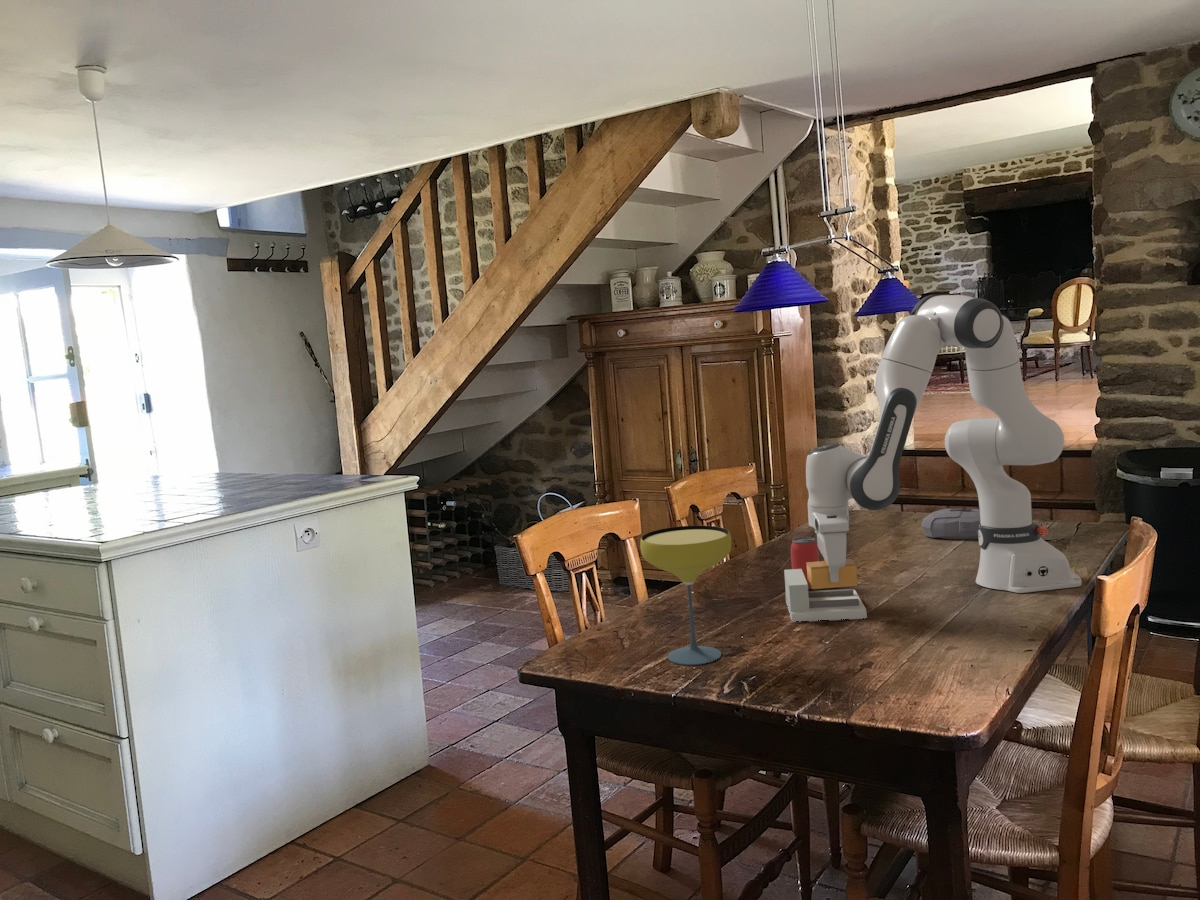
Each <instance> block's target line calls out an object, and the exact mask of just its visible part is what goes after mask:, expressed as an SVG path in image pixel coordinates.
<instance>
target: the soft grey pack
mask: <svg viewBox="0 0 1200 900" xmlns="http://www.w3.org/2000/svg"><path fill="white" fill-rule="evenodd" d="M979 523H980V508H973V506H970V507H966V506H963V507H951V508H950V507H949V508H942V509H939V510H935V511H933V512H931V513H929V514H928V515H925V517H924V518H923V519H922V522H921V527H922V529H923V531H924V536H926V537H929V538H933V539H934V538H935V539H940V538H941V539H942V540H952V539H954V540H957V541H962V540H966V541H967V540H971V541H972V540H979V537H978V530H979ZM954 540H953V541H954Z"/></svg>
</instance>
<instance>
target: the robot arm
mask: <svg viewBox="0 0 1200 900" xmlns="http://www.w3.org/2000/svg"><path fill="white" fill-rule="evenodd" d="M946 346H948V347H963V349H964V353H965V364H966V365H965V366H966V372H967V373H966V374H967V380H968V386H969V393H970V396H971V399H972V400H973V401H974V402H975V403H976V404H978V405H979V406H981V407H983V408H985V409H988V410H989V411H991V412H993V413H994V414H995V415H996V416H997V417H980V418H979V417H975V418H974V417H973V418H968V419H963V420H958V421H956V422H953V423H951V425H950V426H949V427H948V429H947V431H946V433H945V436H944V448H945V450H946V453H947V455H948V456H949V458H950V459H951V460H952V461H953V462H955V463H957V464H958V465H959V466H960V467H961V468H963V470H964V471H965V472H966V473H967V474H968V475H969V477H970V478H971V481H972V482H973V484H974V487H975V490H976V493H977V497H978V498H977V499H978V507H979V508H978V509H980V523H979V530H978V537H979V539H978V544H979V545H978V546H979V548H980V552H979V554H980V556H979V562H978V563H979V565H978V568H977V574H976V578H975V583H976V584H977V585H979V586H981V587H984V588H988V589H994V590H1000V591H1008V592H1011V593H1018V594H1025V593H1032V592H1041V591H1043V592H1044V591H1051V590H1052V591H1053V590H1059V589H1069V588H1076V587H1077V588H1078V587H1081V586H1082V585H1083V583H1082V578H1081V577H1080V576H1079V575H1078V574H1077V573H1076V572H1073V571H1071V567H1070V563H1069V561H1068V558H1067V557H1066V555H1065V554H1064V553H1063V552H1061V551H1060V550H1059V549H1058V548H1056V547H1055V546H1053V545H1051V544H1050V543H1049V542H1047V541H1046V540H1044V539H1042V538H1041V537H1046V536H1047V535H1048V534H1049V529H1048V528H1047V527H1045V526H1044V525H1039V524H1037V523H1035V522H1033V519H1032V497H1031V492H1030V490H1029V489H1028V488H1027V486H1026V485H1024V484H1023V483H1022V482H1020V481H1018V480H1016V479H1014V478H1013V477H1011V476H1010V475H1008V474H1007V473H1006V471H1005V470H1004V469H1005V468H1004V466H1038V465H1042V464H1048V463H1053V462H1055V461H1056V460H1057V459H1058V458H1059V457H1060V455H1061V454H1062V453H1063V449H1064V446H1065V436H1064V432H1063V430H1062V428H1061V427H1060V425H1059V424H1058V422H1056V421H1055V420H1054V419H1051V418H1049V417H1047V415H1045V414H1043V412H1041V411H1040V410H1039V409H1038V408H1037V407H1036V406H1035V405H1034V404H1033V403H1032V401H1031V399H1030V398H1029V396H1028V395H1027V391H1026V389H1025V386H1024V385H1025V384H1024V381H1023V375H1022V370H1021V362H1020V354H1019V349H1018V343H1017V339H1016V334H1015V331H1014V328H1013V326H1012V324H1011V321H1010V319H1009V318H1008V317H1006V316H1005V315H1003V314H1002V312H1001V311H1000V309H999V307H997V305H996V304H994V303H993V302H992V301H989V300H987V299H984V298H981V297H973V296H971V295H970V296H969V295H964V294H952V295H951V294H942V293H936V294H930V295H926V296H924V297H923V298H921V299H920V300H919V301H917V302H916V304H915V305H914V307H912V310H911V313H910V314H909V315H907V316H904V317H902V318H901V319H900V320H899V321H898V322H897V324H896V325H895V328H893V331H892V333H891V335H890V337H889V339H888V341H887V343H886V345H885V348H884V350H883V353H882V355H881V358H880V361H879V364H878V367H877V370H876V371H877V372H876V377H875V383H874V390H875V394H876V395H875V396H876V397H877V400H878V405H879V421H878V424H877V428H876V431H875V434H874V438H873V441H872V444H871V448H870V450H869V453H868V455H864V454H861V453H858V452H855V451H852V450H850V449H848V448H846V447H844V446H843V445H842V444H840V443H828V444H823V445H819V446H817V447H814V448H812V449H811V450H810V451H809V452H808V454H807V456H806V461H805V485H806V486H805V487H806V489H807V492H808V499H807V513H808V514H807V517H808V526H809V527H812V528H813V529H814V533H815V534H816V544H817V547H818V551H819V552H820V554H821V555H822V558H823V561H826V563H827V565H828V566H829V572H830V573H829V576H830V581H831V582H838V581H839V576H838V574H839V567H844V566H845V563H846V559H847V532H849V531H850V525H849V524H850V514H849V513H850V511H849V500H850V499H851V500H852V499H853V500H854V501H855V503H856V504H857V505H858V506H860V507H861V508H864V509H866V510H870V511H879V510H883V509H886V508H888V507H889V506H891V505H892V504H893V503H894V502H895V501H896V500H897V498H898V496H899V494H900V489H901V480H900V479H901V478H900V462H901V458H902V456H903V453H904V448H905V446H906V442H907V439H908V436H909V432H910V429H911V425H912V422H913V418H914V416H915V414H916V413H917V409H918V407H919V405H920V402H921V401H922V398H923V396H924V393H925V392H926V390H927V386H928V384H929V382H930V379H931V376H932V374H933V370H934V368H935V364H936V360H937V357H938V354H939V352H941V350H942V349H943V348H944V347H946Z"/></svg>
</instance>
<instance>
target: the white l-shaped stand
mask: <svg viewBox="0 0 1200 900" xmlns="http://www.w3.org/2000/svg"><path fill="white" fill-rule="evenodd" d="M783 571H784V573H783V574H784V586H785V603H786V606H788V607H787V610H788V612H789V613H790V614H789V613H788V614H789V617H790V621H791V620H792V621H791V623H797V622H796V621H799V622H798V623H802V622H801V621H809V622H821V621H820V620H829V621H846V620H845V619H849V620H864V619H865V618H867V619H868V615H867V608H866V607H865V605H864V603H863V601H862V600H861V598H860V596H859V594H858V593H857V591H856V589H854V588H843V589H841V588H840V589H824V590H822V589H821V590H808V584H807V581H806V579H805V576H804V574H803V571H802V569H792V568H790V569H783ZM863 618H864V619H863ZM841 619H842V620H841ZM843 619H844V620H843ZM818 620H819V621H818ZM865 620H866V619H865Z"/></svg>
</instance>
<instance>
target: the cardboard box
mask: <svg viewBox="0 0 1200 900" xmlns="http://www.w3.org/2000/svg"><path fill="white" fill-rule="evenodd" d="M806 564H807V579H808V585H809V586H810V587H811V588H812V589H811V590H822V589H832V588H845V587H854V586H855V587H857V586H858V573H857V563H856V562H855V561H854V560H852V559H851V558H846V563H845V566H844V567H839V574H838V576H839V581H838V582H831V581H830V576H829V573H830V572H829V566H828V565H827V563H826V561H824V560H821V561H820V560H819V561H818V562H806Z"/></svg>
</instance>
